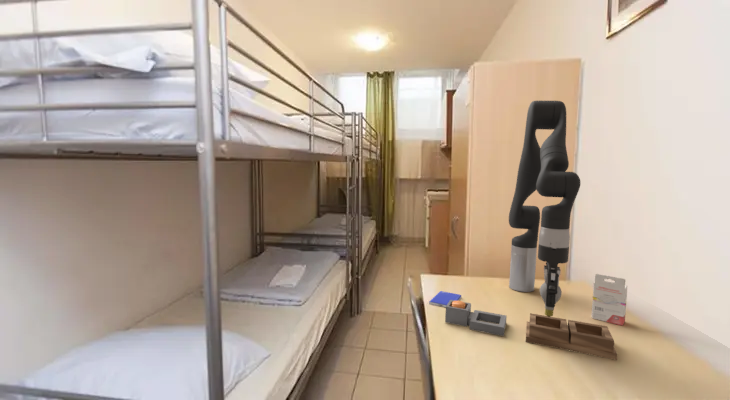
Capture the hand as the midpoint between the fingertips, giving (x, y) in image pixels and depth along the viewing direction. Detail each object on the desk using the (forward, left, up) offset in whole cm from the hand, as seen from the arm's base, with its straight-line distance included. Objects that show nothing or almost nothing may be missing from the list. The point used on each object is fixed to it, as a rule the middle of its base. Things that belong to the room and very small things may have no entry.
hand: (549, 302), depth 102 cm
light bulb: (0, 0, -4) cm, 4 cm away
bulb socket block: (0, -20, -10) cm, 22 cm away
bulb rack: (0, +5, -10) cm, 11 cm away
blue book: (-15, -32, -11) cm, 37 cm away
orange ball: (0, -25, -8) cm, 26 cm away
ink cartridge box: (-23, +18, -10) cm, 31 cm away
